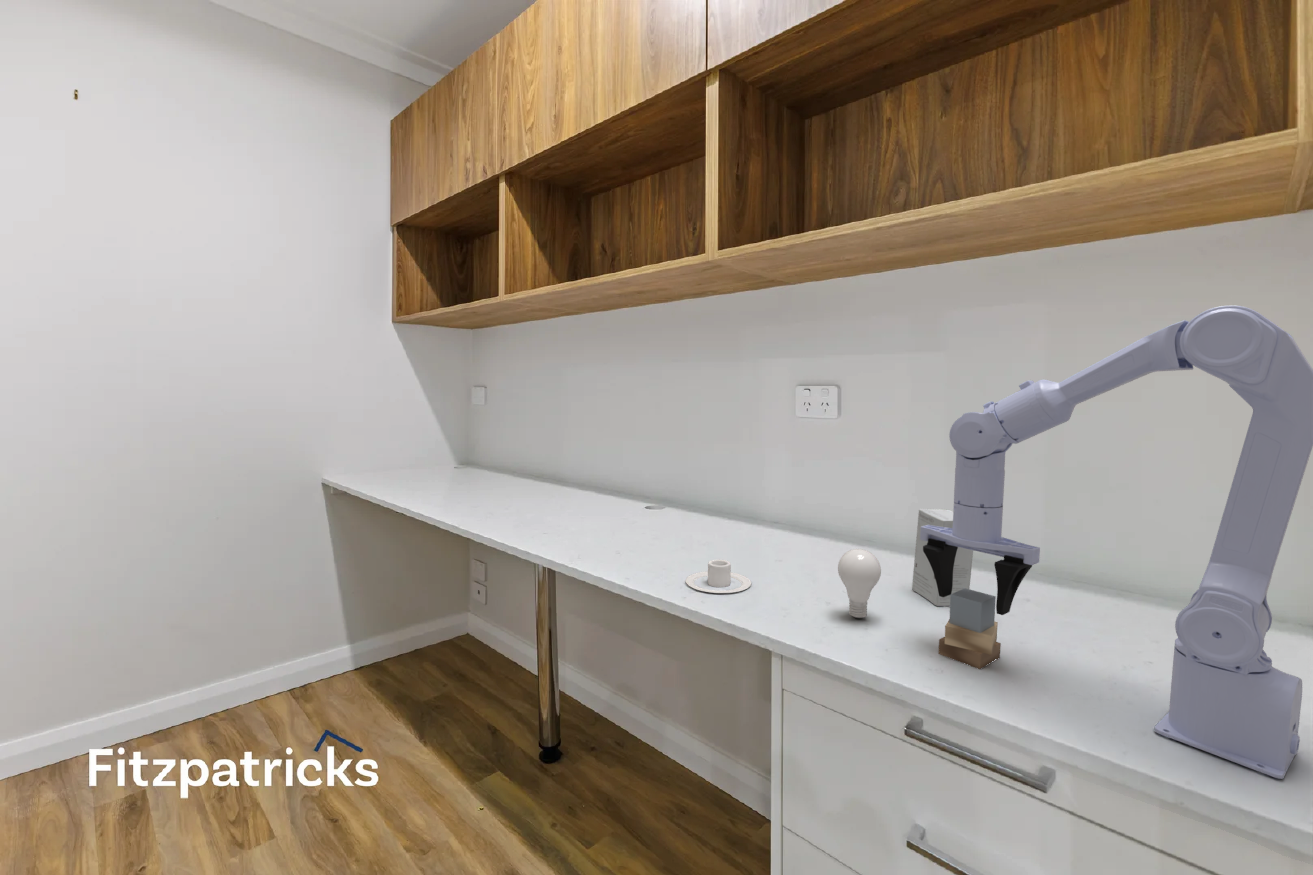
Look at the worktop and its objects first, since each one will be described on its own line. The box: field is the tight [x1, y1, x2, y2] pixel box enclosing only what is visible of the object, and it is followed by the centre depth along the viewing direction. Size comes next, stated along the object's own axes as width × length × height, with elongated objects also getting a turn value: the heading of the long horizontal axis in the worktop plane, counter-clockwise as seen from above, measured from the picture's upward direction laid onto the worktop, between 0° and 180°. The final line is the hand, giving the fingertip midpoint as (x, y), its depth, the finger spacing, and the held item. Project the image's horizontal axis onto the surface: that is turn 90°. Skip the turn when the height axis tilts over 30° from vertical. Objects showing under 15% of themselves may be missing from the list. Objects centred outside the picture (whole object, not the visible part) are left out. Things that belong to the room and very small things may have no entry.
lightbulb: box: [837, 548, 882, 620], centre depth 92 cm, size 6×6×11 cm
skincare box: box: [911, 508, 974, 607], centre depth 101 cm, size 8×6×15 cm
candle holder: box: [684, 559, 752, 594], centre depth 109 cm, size 12×12×4 cm
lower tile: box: [938, 636, 1002, 670], centre depth 80 cm, size 6×6×2 cm
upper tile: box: [944, 618, 999, 655], centre depth 80 cm, size 6×6×2 cm
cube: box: [949, 588, 997, 633], centre depth 79 cm, size 4×4×4 cm
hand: (972, 603), depth 79 cm, fingers open, 7 cm apart
